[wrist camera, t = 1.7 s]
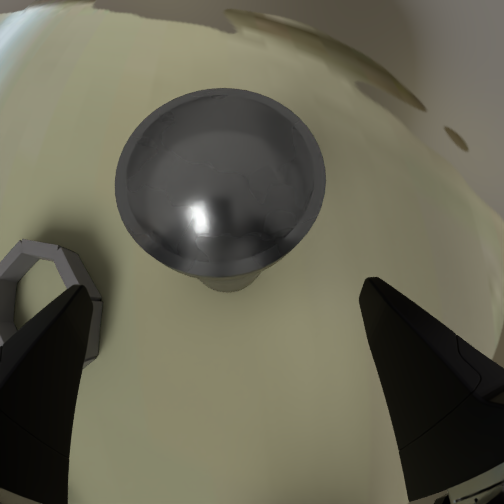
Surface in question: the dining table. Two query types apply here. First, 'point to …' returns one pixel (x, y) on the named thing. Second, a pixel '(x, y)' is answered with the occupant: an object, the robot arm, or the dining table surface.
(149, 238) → the metal canister
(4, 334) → the collar
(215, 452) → the dining table surface
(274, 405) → the dining table surface
